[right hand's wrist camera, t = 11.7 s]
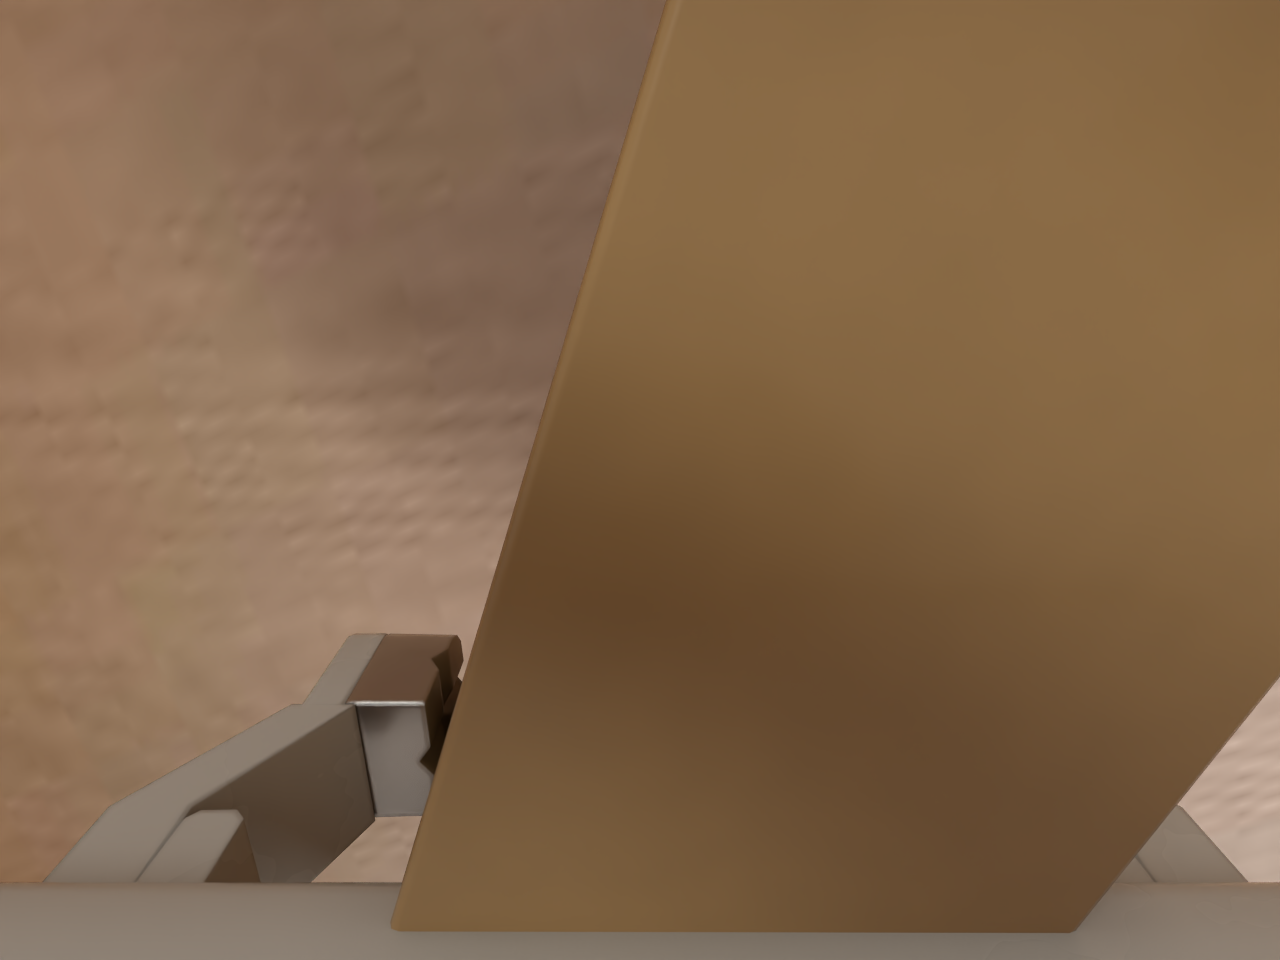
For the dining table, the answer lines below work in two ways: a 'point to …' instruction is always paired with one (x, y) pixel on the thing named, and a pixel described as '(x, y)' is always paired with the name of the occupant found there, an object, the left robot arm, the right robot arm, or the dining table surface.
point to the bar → (887, 481)
